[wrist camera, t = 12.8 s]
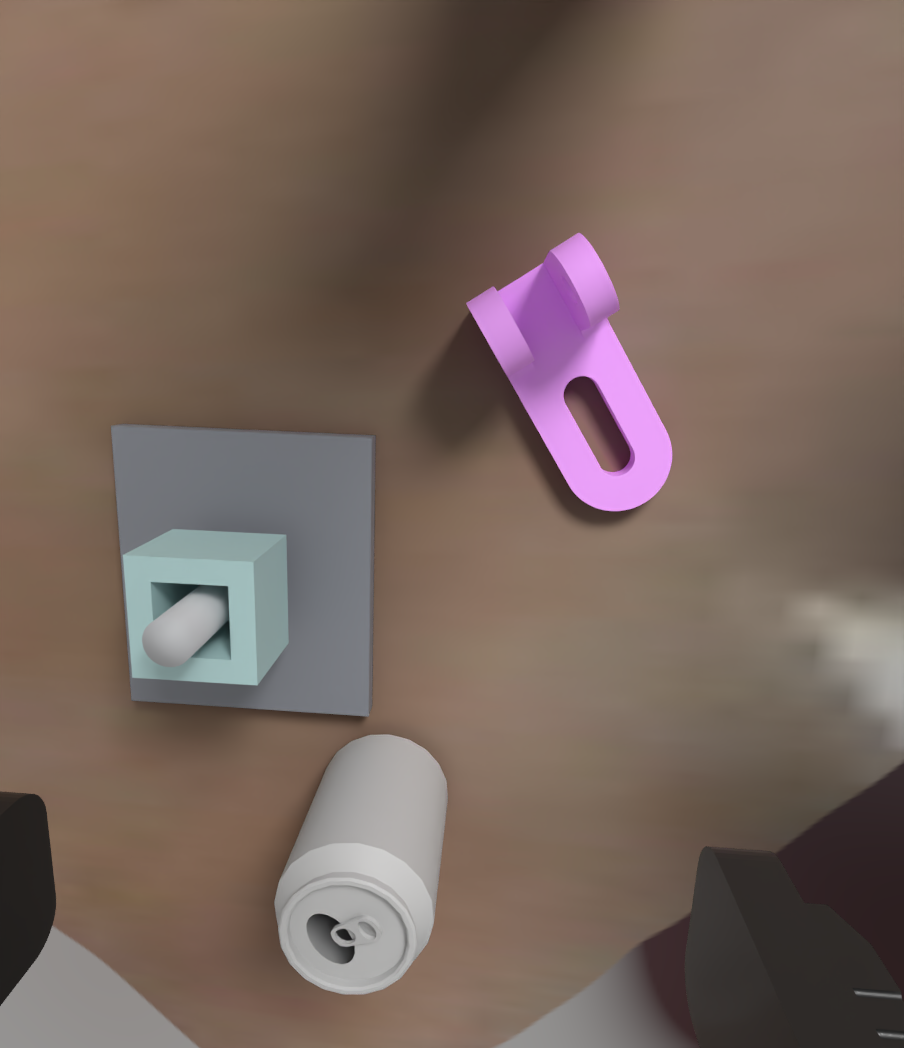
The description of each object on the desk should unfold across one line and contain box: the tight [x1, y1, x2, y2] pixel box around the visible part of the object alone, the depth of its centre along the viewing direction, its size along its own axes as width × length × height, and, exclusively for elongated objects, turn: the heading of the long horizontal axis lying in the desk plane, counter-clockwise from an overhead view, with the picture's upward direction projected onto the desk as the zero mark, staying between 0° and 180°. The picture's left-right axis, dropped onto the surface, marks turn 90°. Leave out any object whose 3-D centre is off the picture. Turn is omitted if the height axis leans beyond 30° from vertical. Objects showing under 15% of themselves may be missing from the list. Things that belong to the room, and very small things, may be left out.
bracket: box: [466, 233, 672, 511], centre depth 33 cm, size 13×6×7 cm, turn 31°
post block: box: [111, 424, 376, 716], centre depth 35 cm, size 16×14×10 cm
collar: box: [123, 529, 289, 685], centre depth 34 cm, size 6×6×5 cm
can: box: [274, 734, 448, 994], centre depth 37 cm, size 8×8×12 cm
